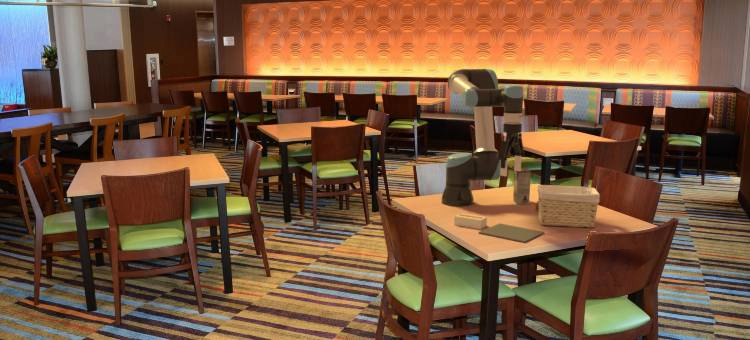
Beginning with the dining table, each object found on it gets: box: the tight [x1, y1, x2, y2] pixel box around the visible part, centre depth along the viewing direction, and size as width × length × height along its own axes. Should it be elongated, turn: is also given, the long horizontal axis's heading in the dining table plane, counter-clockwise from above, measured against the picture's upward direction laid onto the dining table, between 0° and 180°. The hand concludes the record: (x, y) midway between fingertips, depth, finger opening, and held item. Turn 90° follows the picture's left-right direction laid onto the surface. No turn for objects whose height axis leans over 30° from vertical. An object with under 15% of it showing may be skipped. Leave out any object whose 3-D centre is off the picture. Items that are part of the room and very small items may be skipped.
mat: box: [478, 222, 545, 244], centre depth 260 cm, size 20×17×1 cm
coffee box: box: [512, 167, 532, 206], centre depth 311 cm, size 9×6×16 cm
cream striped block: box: [453, 213, 488, 230], centre depth 271 cm, size 12×6×4 cm, turn 58°
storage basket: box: [537, 184, 601, 229], centre depth 274 cm, size 24×16×15 cm
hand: (510, 173), depth 275 cm, fingers open, 13 cm apart
